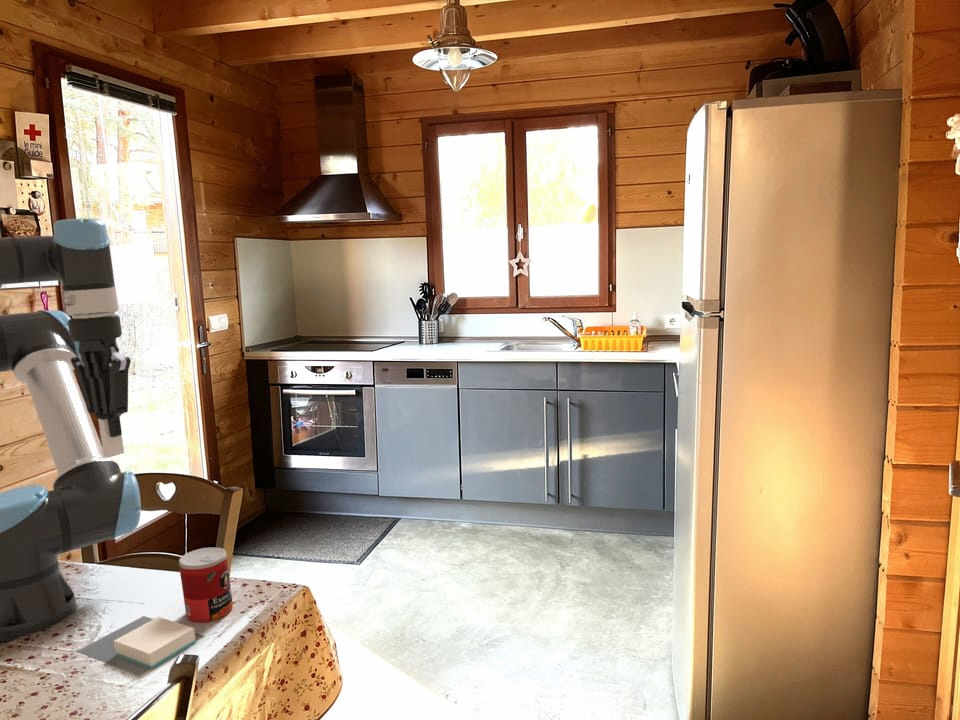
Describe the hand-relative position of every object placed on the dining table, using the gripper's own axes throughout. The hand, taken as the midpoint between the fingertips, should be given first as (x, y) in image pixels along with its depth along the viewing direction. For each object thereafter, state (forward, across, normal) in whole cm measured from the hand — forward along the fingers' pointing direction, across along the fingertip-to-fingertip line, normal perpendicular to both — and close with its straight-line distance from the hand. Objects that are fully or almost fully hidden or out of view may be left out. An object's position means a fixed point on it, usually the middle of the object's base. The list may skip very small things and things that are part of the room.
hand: (114, 454), depth 119 cm
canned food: (+31, +10, +7) cm, 33 cm away
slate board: (+30, +8, -5) cm, 32 cm away
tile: (+29, +7, -5) cm, 30 cm away
